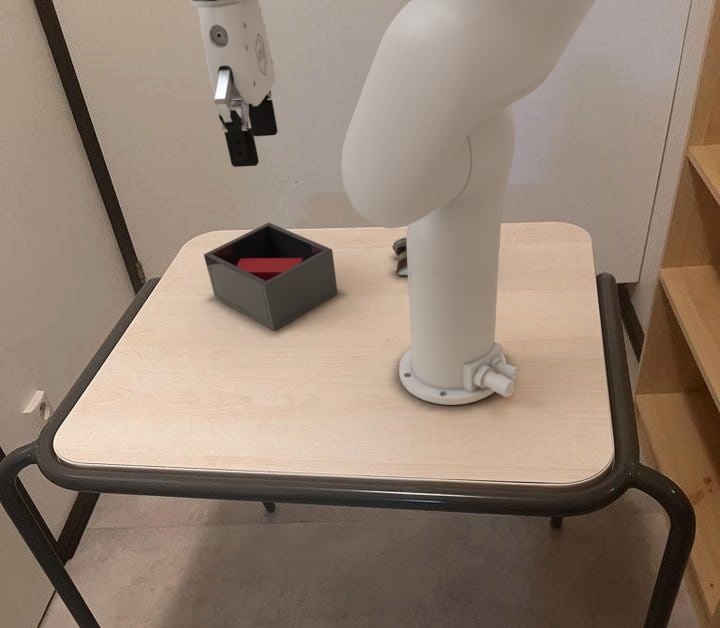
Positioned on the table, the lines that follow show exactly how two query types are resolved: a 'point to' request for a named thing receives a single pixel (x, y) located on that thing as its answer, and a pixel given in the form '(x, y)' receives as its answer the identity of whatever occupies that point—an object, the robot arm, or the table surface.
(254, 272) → the red rectangular brick
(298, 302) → the grey storage bin
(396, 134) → the robot arm
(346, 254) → the table surface
